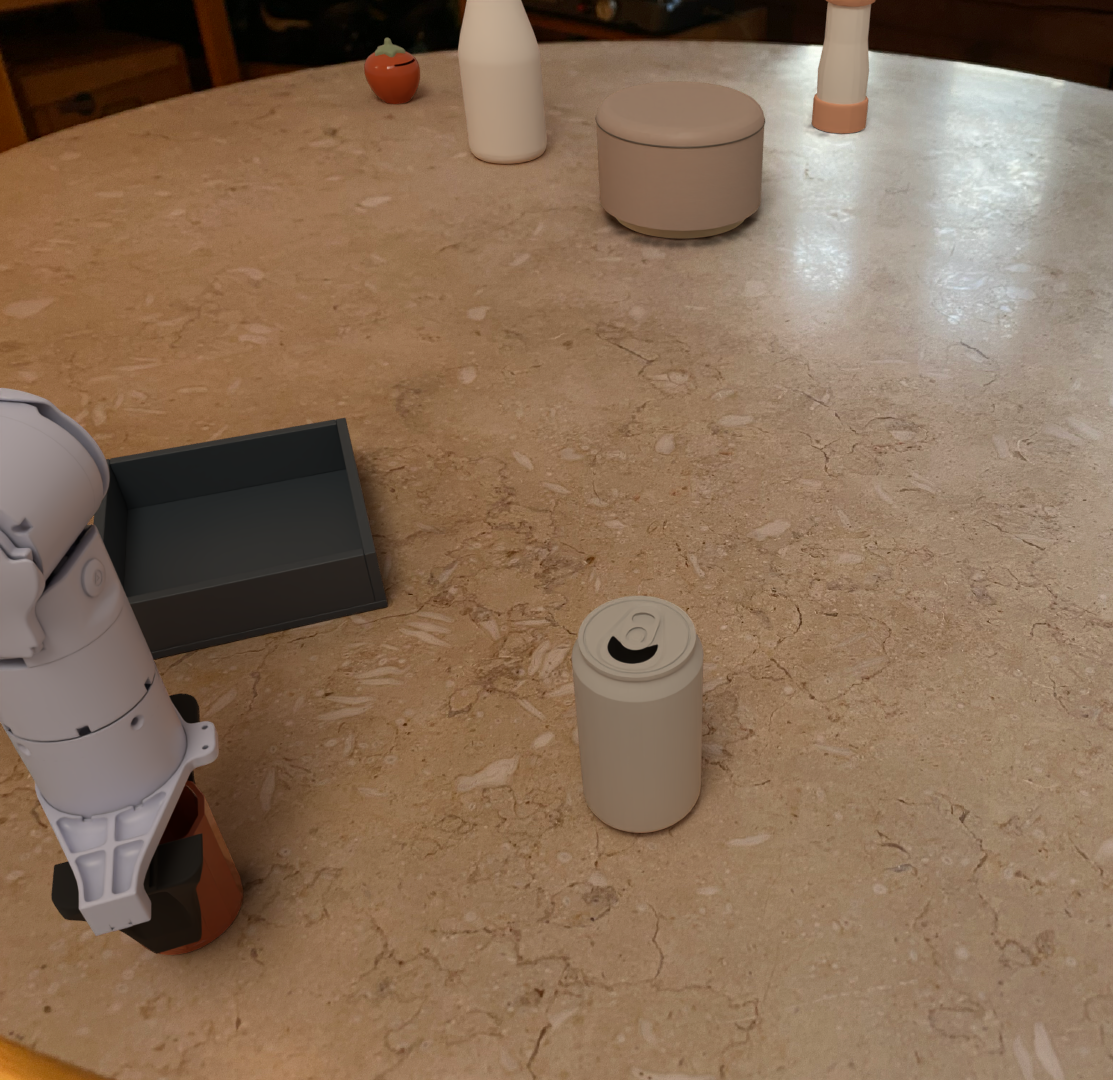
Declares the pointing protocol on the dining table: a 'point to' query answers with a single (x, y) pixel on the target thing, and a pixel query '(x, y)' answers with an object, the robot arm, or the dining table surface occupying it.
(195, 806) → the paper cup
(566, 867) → the dining table surface
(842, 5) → the pepper shaker
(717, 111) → the container
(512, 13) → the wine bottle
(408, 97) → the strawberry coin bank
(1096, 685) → the dining table surface
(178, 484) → the bin
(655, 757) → the beverage can
